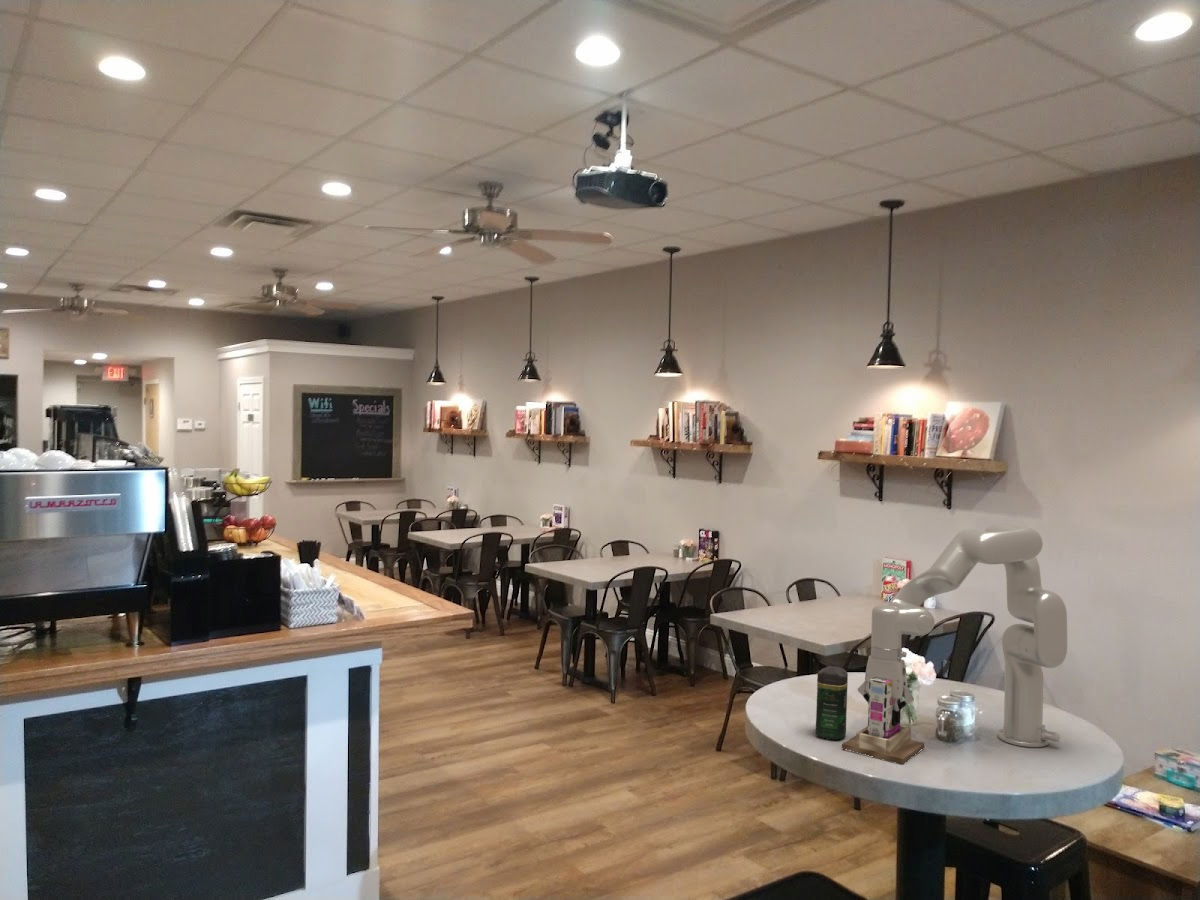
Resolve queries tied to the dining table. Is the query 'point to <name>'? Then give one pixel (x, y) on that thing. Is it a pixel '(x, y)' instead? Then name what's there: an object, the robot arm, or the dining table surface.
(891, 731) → the candy bar box
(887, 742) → the stand
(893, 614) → the robot arm
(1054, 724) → the dining table surface
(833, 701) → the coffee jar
